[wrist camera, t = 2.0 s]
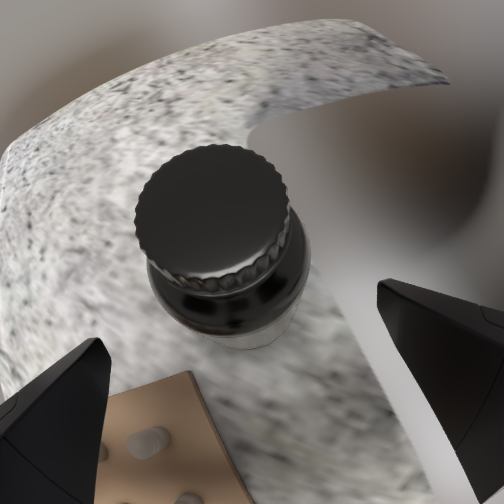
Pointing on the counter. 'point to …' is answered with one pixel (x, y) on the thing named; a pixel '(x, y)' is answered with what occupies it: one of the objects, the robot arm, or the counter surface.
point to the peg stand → (164, 449)
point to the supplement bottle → (223, 245)
